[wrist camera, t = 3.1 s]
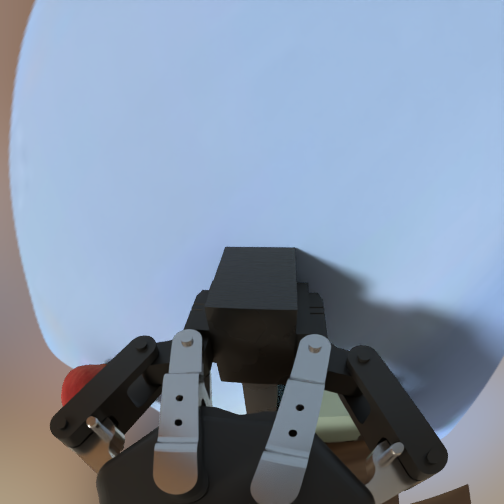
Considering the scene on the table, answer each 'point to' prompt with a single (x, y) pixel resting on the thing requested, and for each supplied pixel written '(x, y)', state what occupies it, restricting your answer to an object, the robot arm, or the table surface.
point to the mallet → (255, 321)
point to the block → (335, 420)
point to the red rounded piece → (78, 380)
